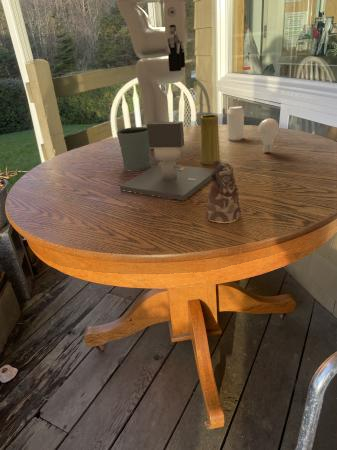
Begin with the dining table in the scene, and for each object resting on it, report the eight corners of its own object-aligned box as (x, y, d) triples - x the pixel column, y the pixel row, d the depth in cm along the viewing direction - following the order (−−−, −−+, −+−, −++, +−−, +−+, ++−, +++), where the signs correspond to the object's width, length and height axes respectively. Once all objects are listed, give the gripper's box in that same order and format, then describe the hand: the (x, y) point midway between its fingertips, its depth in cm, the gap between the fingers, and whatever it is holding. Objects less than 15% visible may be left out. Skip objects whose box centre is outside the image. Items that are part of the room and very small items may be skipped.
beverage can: (227, 137, 129) (227, 106, 124) (243, 136, 128) (243, 105, 123) (227, 141, 124) (227, 109, 118) (244, 140, 123) (244, 107, 117)
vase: (224, 160, 103) (223, 114, 97) (212, 166, 100) (211, 118, 93) (208, 158, 107) (207, 113, 100) (197, 163, 103) (194, 117, 97)
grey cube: (180, 161, 83) (177, 125, 78) (147, 160, 86) (143, 126, 81) (189, 151, 90) (186, 118, 85) (158, 151, 93) (155, 119, 88)
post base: (120, 190, 88) (116, 166, 85) (160, 168, 103) (157, 146, 99) (183, 201, 78) (181, 173, 75) (217, 174, 93) (217, 150, 89)
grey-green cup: (116, 169, 106) (110, 132, 100) (139, 160, 112) (134, 125, 107) (137, 174, 100) (131, 135, 94) (159, 164, 106) (155, 127, 100)
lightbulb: (275, 149, 109) (277, 115, 104) (279, 154, 103) (281, 119, 98) (256, 150, 110) (257, 117, 105) (258, 156, 104) (260, 121, 99)
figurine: (217, 227, 65) (215, 171, 59) (200, 214, 71) (197, 161, 65) (246, 218, 67) (248, 163, 62) (228, 206, 73) (227, 155, 68)
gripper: (184, -11, 73) (188, 71, 82) (191, -4, 88) (193, 65, 97) (152, -8, 75) (159, 73, 83) (164, -1, 89) (169, 67, 98)
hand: (177, 69), depth 90 cm, fingers open, 9 cm apart
